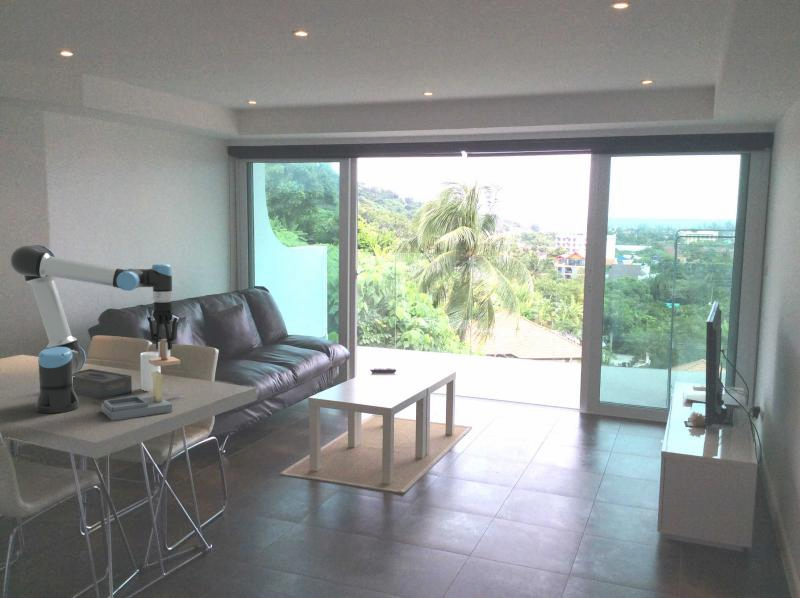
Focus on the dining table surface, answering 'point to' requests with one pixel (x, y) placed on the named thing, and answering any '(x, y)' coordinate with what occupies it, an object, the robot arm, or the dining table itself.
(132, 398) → the housing
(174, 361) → the cover
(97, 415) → the dining table surface
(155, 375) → the key
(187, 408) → the dining table surface
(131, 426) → the dining table surface
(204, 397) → the dining table surface
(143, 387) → the cup
